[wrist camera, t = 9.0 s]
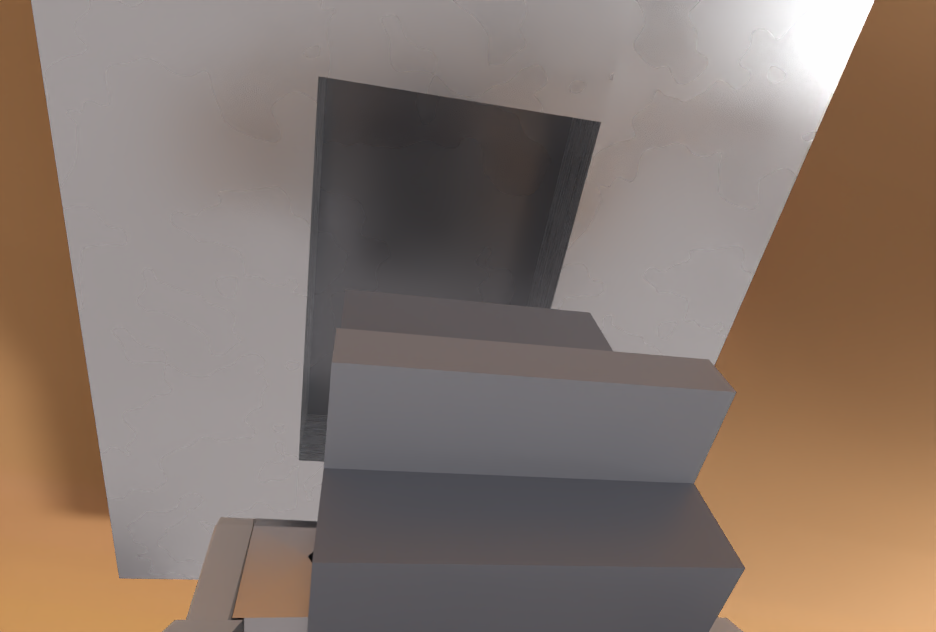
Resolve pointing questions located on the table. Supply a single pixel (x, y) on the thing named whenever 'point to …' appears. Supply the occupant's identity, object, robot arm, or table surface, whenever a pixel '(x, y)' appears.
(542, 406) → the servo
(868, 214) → the table surface
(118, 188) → the chassis
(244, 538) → the robot arm
